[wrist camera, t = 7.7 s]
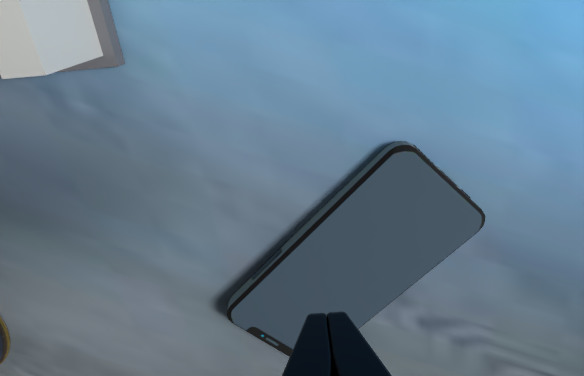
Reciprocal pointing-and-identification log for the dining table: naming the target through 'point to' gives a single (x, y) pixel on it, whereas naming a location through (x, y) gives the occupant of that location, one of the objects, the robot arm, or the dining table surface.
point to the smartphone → (359, 248)
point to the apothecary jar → (4, 341)
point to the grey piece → (56, 37)
